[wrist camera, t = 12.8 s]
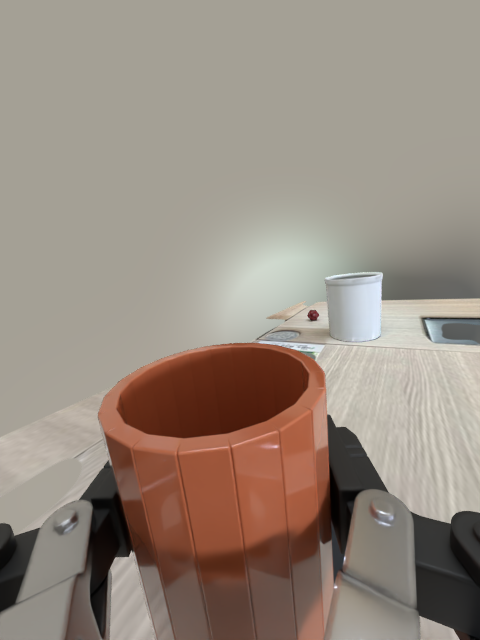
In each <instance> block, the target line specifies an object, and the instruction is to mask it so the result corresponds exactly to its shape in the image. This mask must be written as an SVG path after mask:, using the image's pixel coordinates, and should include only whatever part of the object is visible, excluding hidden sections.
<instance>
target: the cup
mask: <svg viewBox="0 0 480 640" xmlns="http://www.w3.org/2000/svg"><path fill="white" fill-rule="evenodd" d="M98 420H99V424H100V428H101V432H102V436H103V440H104V444H105V448H106V452H107V455H108V459H109V463H110V467H111V471H112V475H113V479H114V483H115V487H116V490H117V494H118V498H119V502H120V506H121V510H122V514H123V518H124V522H125V525H126V529H127V533H128V537H129V541H130V545H131V549H132V553H133V557H134V560H135V564H136V568H137V572H138V576H139V580H140V584H141V588H142V592H143V595H144V599H145V603H146V607H147V611H148V615H149V619H150V623H151V626H152V630H153V634H154V638H155V640H323V639H324V634H325V629H326V624H327V619H328V614H329V609H330V604H331V599H332V594H333V589H334V578H333V553H332V527H331V502H330V476H329V451H328V425H327V400H326V379H325V373H324V371H323V370H322V368H321V367H320V366H319V365H318V364H317V362H316V361H315V360H313V359H312V358H311V357H309V356H307V355H305V354H303V353H301V352H299V351H296V350H293V349H290V348H286V347H282V346H278V345H270V344H260V343H233V344H232V343H230V344H221V345H212V346H206V347H201V348H196V349H191V350H187V351H183V352H180V353H177V354H173V355H170V356H167V357H164V358H161V359H159V360H157V361H154V362H152V363H150V364H148V365H145V366H143V367H141V368H139V369H137V370H136V371H134V372H133V373H131V374H129V375H128V376H126V377H125V378H123V379H122V380H120V381H119V382H118V383H117V384H116V385H115V386H114V387H113V388H112V389H111V390H110V391H109V392H108V393H107V394H106V395H105V397H104V398H103V401H102V404H101V407H100V409H99V412H98Z"/></svg>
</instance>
